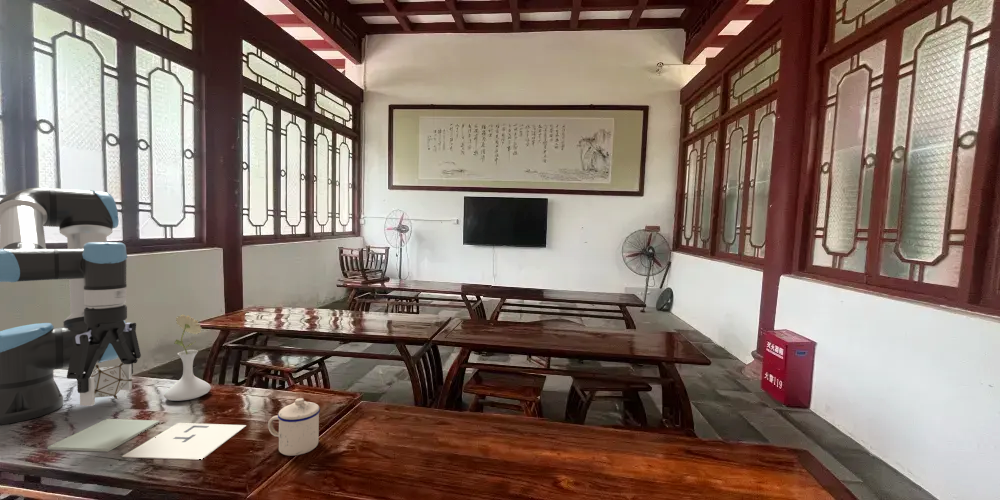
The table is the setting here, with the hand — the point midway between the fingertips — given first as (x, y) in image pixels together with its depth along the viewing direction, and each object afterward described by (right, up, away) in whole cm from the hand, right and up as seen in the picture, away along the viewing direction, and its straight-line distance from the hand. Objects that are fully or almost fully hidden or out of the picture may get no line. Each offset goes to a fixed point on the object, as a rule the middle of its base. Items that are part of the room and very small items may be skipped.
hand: (107, 396), depth 100 cm
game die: (0, 0, 0) cm, 0 cm away
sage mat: (0, -10, +1) cm, 10 cm away
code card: (+21, -11, 0) cm, 23 cm away
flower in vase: (+1, -9, +25) cm, 26 cm away
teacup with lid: (+47, -12, -2) cm, 48 cm away
